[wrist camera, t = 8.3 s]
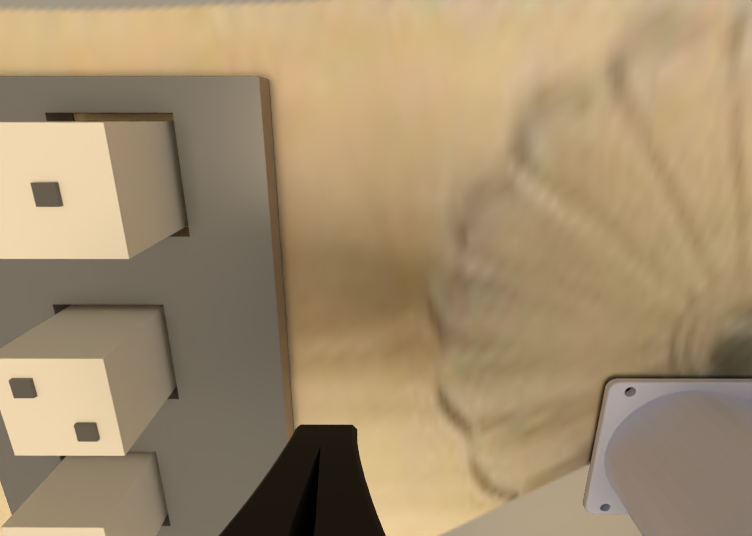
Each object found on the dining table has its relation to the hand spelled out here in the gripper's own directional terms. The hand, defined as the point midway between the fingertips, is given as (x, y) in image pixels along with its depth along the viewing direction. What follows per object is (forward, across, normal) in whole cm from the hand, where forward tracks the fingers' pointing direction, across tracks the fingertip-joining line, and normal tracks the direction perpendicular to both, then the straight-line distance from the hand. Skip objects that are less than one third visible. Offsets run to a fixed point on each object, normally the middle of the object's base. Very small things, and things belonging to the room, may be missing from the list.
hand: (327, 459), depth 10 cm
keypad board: (+10, +10, +2) cm, 14 cm away
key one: (+10, +9, -6) cm, 14 cm away
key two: (+10, +10, +2) cm, 14 cm away
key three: (+10, +12, +10) cm, 18 cm away
